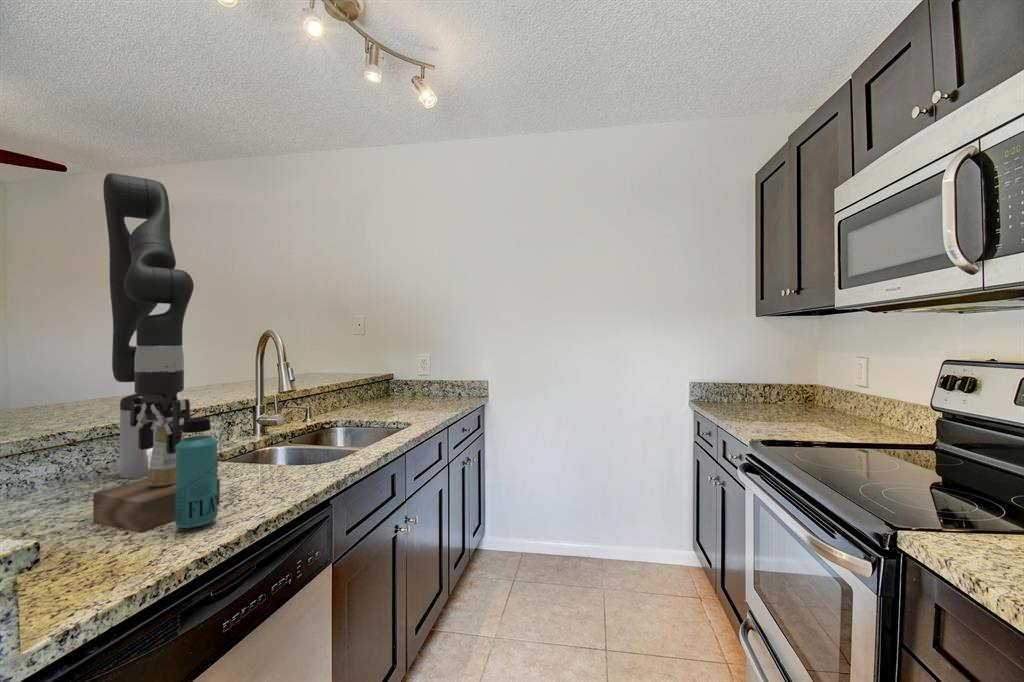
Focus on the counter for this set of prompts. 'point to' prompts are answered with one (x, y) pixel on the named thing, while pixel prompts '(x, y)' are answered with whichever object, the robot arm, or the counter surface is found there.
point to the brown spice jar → (162, 460)
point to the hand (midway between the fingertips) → (159, 450)
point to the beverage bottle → (196, 476)
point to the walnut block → (137, 506)
